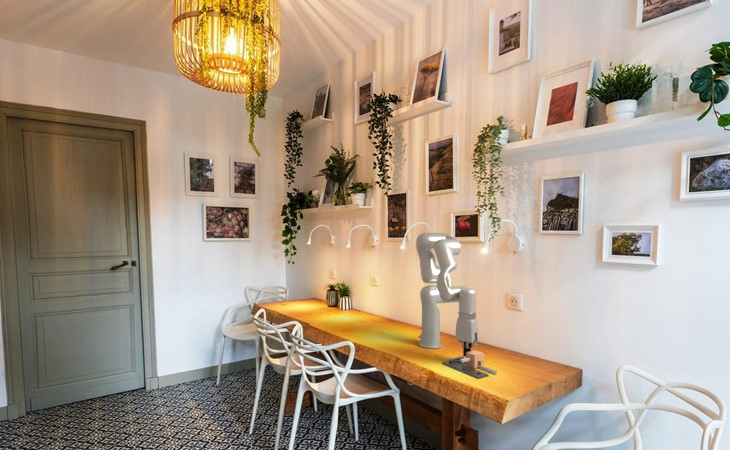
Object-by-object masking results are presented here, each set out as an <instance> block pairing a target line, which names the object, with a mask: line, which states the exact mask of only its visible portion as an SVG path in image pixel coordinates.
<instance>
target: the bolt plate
mask: <svg viewBox="0 0 730 450" xmlns="http://www.w3.org/2000/svg"><path fill="white" fill-rule="evenodd" d="M442 365H444V366H446V367H449V368H451V369H454V370H456V371H458V372H461V373H462V374H463V373H464V374H465V375H468V376H471V377H473V378H475V379H478V380H479V379H483V378H488V377H489V373H488V372H487V373H486V372H484V371H481V370H480V369H477V368H475V369H474V368H472V367H469V366H466V364H464V367H462V362H460V361H453V362H450V361H449V360H445V361H442Z"/></svg>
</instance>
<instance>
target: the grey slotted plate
mask: <svg viewBox="0 0 730 450" xmlns="http://www.w3.org/2000/svg"><path fill="white" fill-rule="evenodd" d="M464 358H465V356H463V355H460V356H455V357H451V358H449V359H448V361H450V362H453V361H456V362H460V359H464ZM464 364H466V362H464ZM477 369H478V370H482V371H483V372H484V371H485V372H487V373H488V374H489V373H490V374H492V375H498V371H497V370H494V369H492V368H489V367H488V366H487V367H486V366H485V365H484V366H481V365H479V364H478V368H477Z"/></svg>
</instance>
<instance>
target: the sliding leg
mask: <svg viewBox="0 0 730 450" xmlns="http://www.w3.org/2000/svg"><path fill="white" fill-rule="evenodd" d="M464 362H466V363H464ZM459 363H461V364H462V367H464V365H466V366H469V367H471V368H474V369H479V368H478V364H479V365H481V366H484V367H485V353H484V352H481V351H478V350H472V351H470V352H466V357H464V359H460V361H459Z"/></svg>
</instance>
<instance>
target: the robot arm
mask: <svg viewBox="0 0 730 450" xmlns="http://www.w3.org/2000/svg"><path fill="white" fill-rule="evenodd" d="M415 241H416V242H415V247H416V251H417V255H418V258H419V259H418V260H419V267H420V277H421V281H422V282H423V283H426V284H436V285H426V286H424V287H423V288H421V289H420V293H419V295H420V296H419V297H420V301H421V333H420V334H419V335H418V336H417V339H420V341H418V345H419V347H422V348H423V349H424V348H425V349H432V350H433V349H440V348H442V347H443V343H442V342H441V341H440V340H441V338H440V336H441V335H440V334H441V333H440V332H441V331H440V330H441V327H440V325H441V311H440V309H439V307H438V306H437V305H438V304H447V303H452V304H453V303H458V312H457V314H458V317H457V318H456V325H455V338H456V339H457V341H458V342H459V343H460V344H461V346H462V348H463V349H462V350H463V352H462V353H463V355H462V356H464V358H466V352H470V351H471V350H472V348H473V347H475V346H478V343H477V342H478V341H479V330H478V329H479V325H478V320H477V313H476V312H477V291H476V289H473V288H468V287H466V286H463V285H459V286H458V285H456V286H455V285H454V286H453V285H452V280H451V279H452V278H451V272H453V271H454V270H456V269H457V267H458V264H457V261H456V258H455V256H458V255H460V254H461V252H462V245H461V242H460V241H459V239H457V238H455V237H453V236H452V235H449V234H448V233H444V232H424V233H423V232H422V233H420V234H418V236H417V237H416V240H415ZM431 249H433V251H434V253H433V252H432V250H431ZM434 254H435V255H434ZM436 260H437V262H438V265H437V264H436V263H437V262H436Z"/></svg>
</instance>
